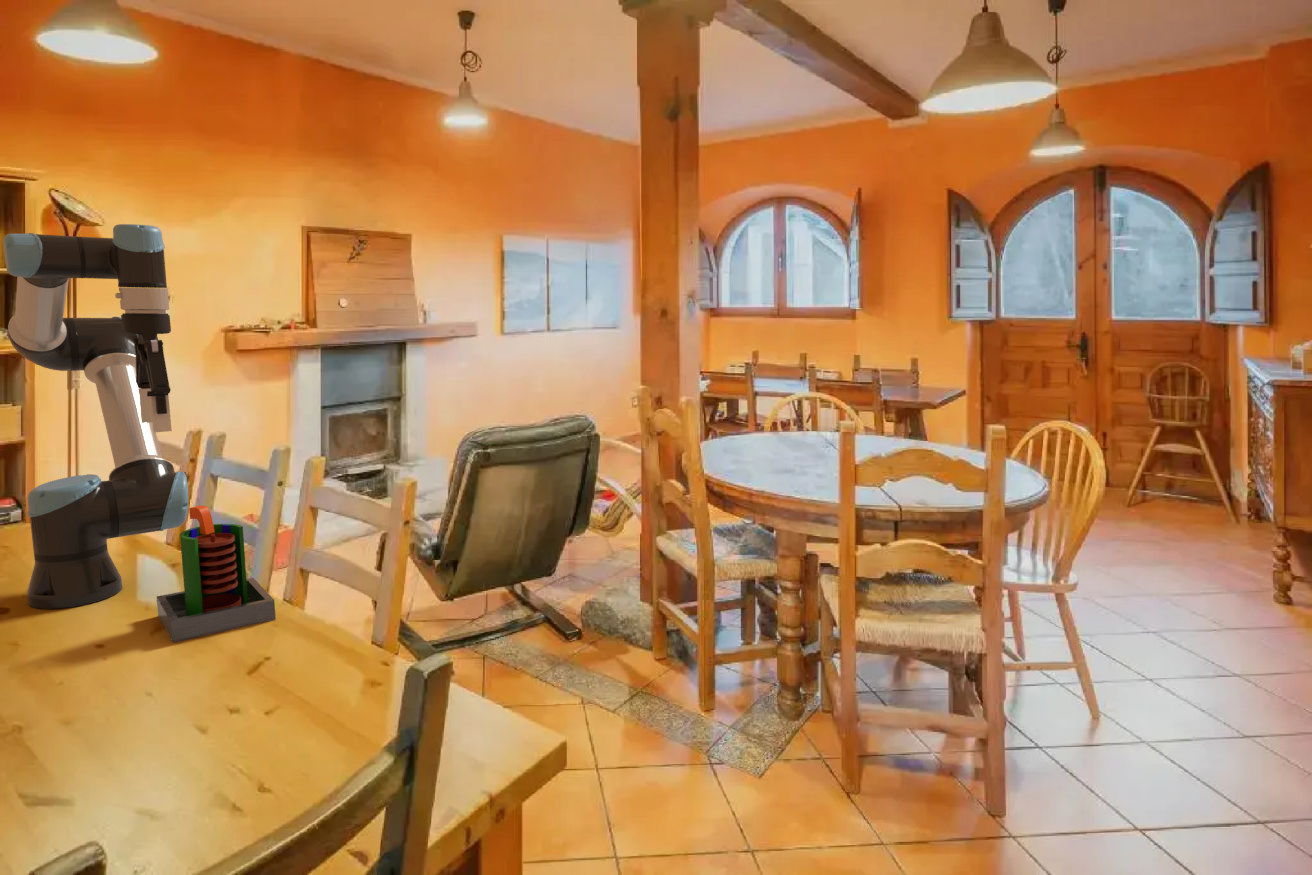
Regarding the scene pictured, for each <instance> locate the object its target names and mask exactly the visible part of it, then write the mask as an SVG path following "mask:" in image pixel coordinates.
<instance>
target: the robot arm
mask: <svg viewBox="0 0 1312 875" xmlns="http://www.w3.org/2000/svg"><path fill="white" fill-rule="evenodd" d="M162 234H163V233H162V230H161V228H159V227H158V226H154V225H149V224H147V225H146V224H134V223H133V224H131V223H121V224H120V223H118V224H116V225H114V226H113V228H112V237H100V236H99V237H97V236H96V237H95V236H73V235H59V234H57V235H56V234H39V233H38V234H37V233H34V232H29V233H8V234H6V235H5V236H4V237H3V241H2V244H3V256H4V264H5V268H6V271H7V273H8V274H9V275H10V276H13V277H17V278H16V279H17V280H16V281H17V283H16V298H15V312H14V313H15V314H14V315H12V316H11V318H10V320H9V322H8V326H7V334H8V339H9V341H10V344H11V345H12V347H13V348H14V349H15V350H16V352H18V354H20V355H21V356H22V357H24V358H25V360H28V361H30V362H31V363H33V364H35V365H37V366H39V367H42V368H45V369H48V370H53V371H59V372H60V371H61V372H70V371H71V372H72V371H74V372H75V371H83V373H84V376H85V379H87V380H88V381H90V382H92V383H94V384H95V387H96V391H97V396H98V401H99V403H100V408H101V412H102V417H103V422H104V425H105V428H106V432H107V438H108V442H109V447H110V450H111V454H112V459H113V464H114V468H113V469H112V470H111V471H110V473H109V475H108V480H103V481H102V478H100V476H99V475H97V474H89V473H88V474H83V475H82V474H80V475H79V474H78V475H73V476H68V477H63V478H58V479H55V480H52V481H47V482H44V483H42V484H40V485H38V486H35V487H34V488H33V489H31V490H30V491H29V492H28V495H27V509H28V510H27V513H26V514H27V517H29V524H30V531H31V532H30V533H31V541H32V547H33V548H32V549H33V556H34V565H33V569H32V573H31V576H30V581H29V585H28V588H27V593H26V594H27V603H28V605H29V606H30V607H32V608H36V609H42V610H44V609H45V610H46V609H48V610H50V609H52V610H53V609H64V608H74V607H77V606H84V605H88V604H91V603H95V602H96V603H97V602H98V601H99V602H100V601H102V600H106V599H109V598H110V597H112V596H113V597H114V596H115V595H117V594H118V593H119V592H121V591H122V590H123V580H122V576H121V574H120V572H119V570H118V569H117V566H116V565H115V563H114V561H113V559H112V558H111V555H110V554H109V550H108V539H114V538H115V539H116V538H122V537H126V536H127V537H129V536H135V535H140V534H141V535H142V534H147V533H155V532H164V531H165V530H171V529H174V528H179V527H181V526H183V524H184V523H185V522H186V520H187V517H188V511H189V484H188V478H187V475H186V473H185V472H183V471H179V470H178V471H175V468H174V465H173V463H172V462H171V461H169V460H167V459H166V458H163V456H162V450H161V447H160V443H159V440H158V436H157V433H162V432H163V433H164V432H172V420H171V410H170V408H171V407H170V399H169V394H170V393H171V391H172V390H171V387H170V382H169V377H168V371H167V365H166V361H165V355H164V353H165V352H164V342H163V340H162V339H159V338H158V335H165V334H166V335H167V334H171V331H172V326H171V317H170V315H169V313H167V311H168V310H170V300H169V289H168V288H167V273H166V271H167V270H166V264H165V263H166V262H165V261H166V260H165V247H166V246H165V244H164V239H163V235H162ZM70 279H99V280H101V279H102V280H106V279H107V280H117V284H118V285H117V287H118V291H119V292H116V293H115V295H114V296H115V298H116V299H120V300H119V303H120V304H119V306H120V309H121V310H123V311H124V312H123V313H121V315H120V316H112V317H64V313H65V307H66V306H65V305H66V300H67V293H68V287H69V280H70Z"/></svg>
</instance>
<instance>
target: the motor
mask: <svg viewBox="0 0 1312 875" xmlns="http://www.w3.org/2000/svg"><path fill="white" fill-rule="evenodd" d="M188 511H189V519H191V520H197V521H198V525H199V526H194V527H192V528H187V529H186V530H183V531H182V532H181V533H180V534H179V539H180V540H179V541H180V553H181V563H182V565H181V566H182V575H183V591H185V604H186V616H190V615H195V614H200V613H204V612H209V611H214V610H219V609H223V608H228V607H233V606H237V605H242V604H247V603H248V597H247V582H246V579H247V572H246V571H247V568H246V554H245V553H246V552H245V539H244V526H242V525H240V524H237V523H236V524H234V523H215V524H214V521H213V517H212V514H211V511H210V508H208V506H207V505H196V506H193V507H191V506H190V507H188Z"/></svg>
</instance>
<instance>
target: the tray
mask: <svg viewBox="0 0 1312 875" xmlns="http://www.w3.org/2000/svg"><path fill="white" fill-rule="evenodd" d="M246 582H247V597H248V603H247V604H242V605H237V606H233V607H228V608H223V609H219V610H214V611H209V612H204V613H200V614H195V615H190V616H186V604H185V591H184V590H183V591H178V592H173V593H172V592H171V593H168V594H163V595H162V594H161V595H157V596H156V605H157V607H156V608H157V615H158V618H159V620H160V622H161V623H162V625H163V627H164V629H165V631H166V633H167V635H168V636H169V638H170V640H171V642H172V643H173V644H175V643H180V642H184V641H188V640H192V639H193V640H194V639H196V638H201V637H206V636H209V635H214V634H218V633H223V632H228V631H232V630H236V629H241V628H245V627H249V626H253V625H258V624H263V623H267V622H271V621H276V619H277V618H276V604H275V599H274V598H273V597H272V596H271V595H270V594H269V593H268V591H266V590H265V588H264V587H263V586H261V584H260V583H259V582H258V581H257V580H256V579H255V578H254V577H250V578H246Z"/></svg>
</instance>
